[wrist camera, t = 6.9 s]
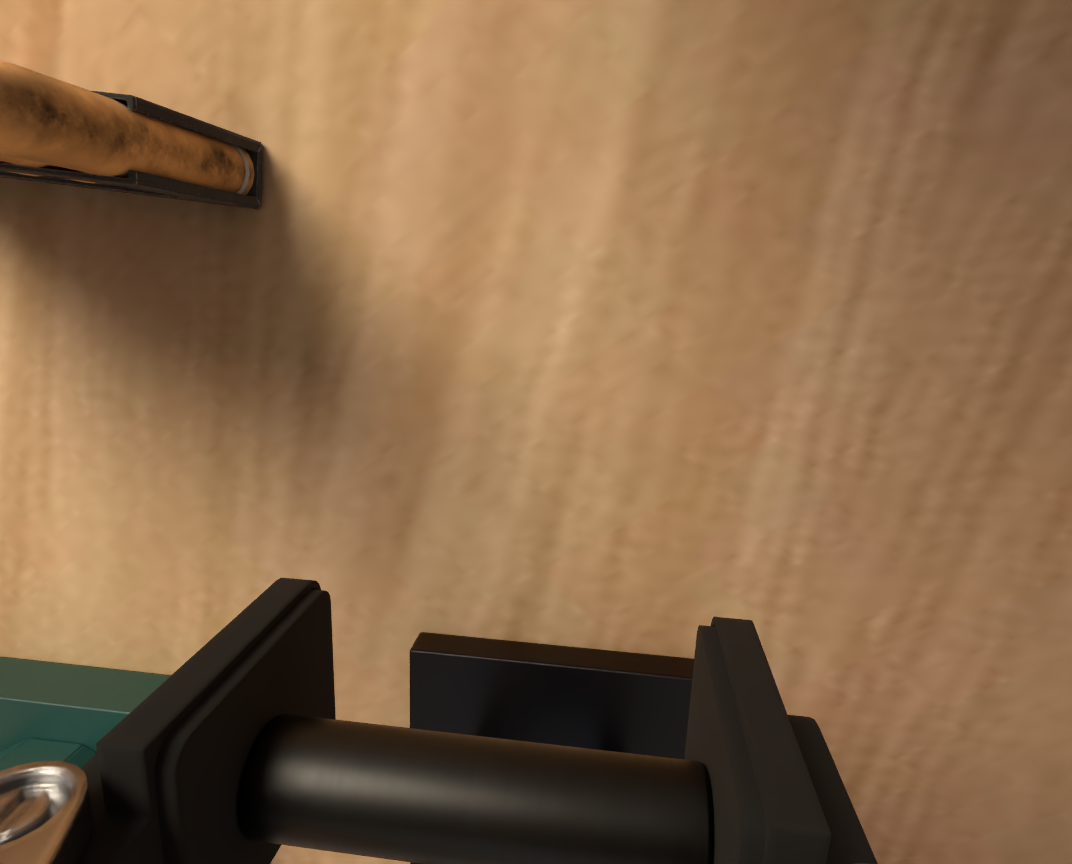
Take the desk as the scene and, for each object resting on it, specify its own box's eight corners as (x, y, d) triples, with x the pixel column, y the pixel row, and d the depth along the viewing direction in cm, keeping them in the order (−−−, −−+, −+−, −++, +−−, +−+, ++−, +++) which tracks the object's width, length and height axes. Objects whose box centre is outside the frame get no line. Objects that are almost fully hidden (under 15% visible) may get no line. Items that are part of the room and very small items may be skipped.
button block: (0, 655, 25) (-115, 725, 21) (207, 678, 24) (127, 755, 20) (34, 884, 27) (-65, 985, 23) (225, 912, 26) (155, 1023, 22)
